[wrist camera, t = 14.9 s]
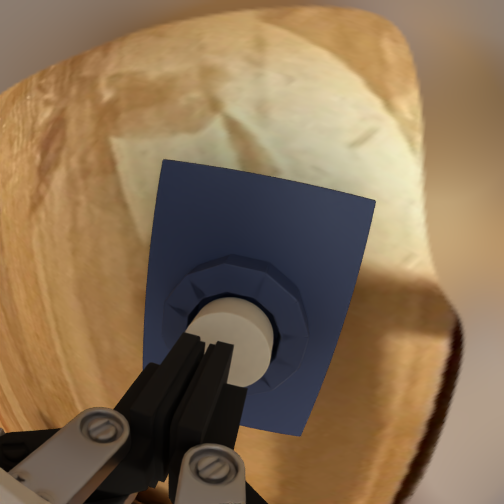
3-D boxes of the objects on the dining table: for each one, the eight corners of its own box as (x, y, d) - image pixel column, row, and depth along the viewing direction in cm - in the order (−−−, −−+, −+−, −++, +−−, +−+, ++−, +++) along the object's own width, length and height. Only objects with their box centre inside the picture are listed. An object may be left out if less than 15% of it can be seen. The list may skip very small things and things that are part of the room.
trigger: (199, 288, 13) (186, 302, 12) (281, 307, 13) (279, 324, 11) (190, 356, 14) (178, 376, 12) (264, 374, 14) (260, 397, 12)
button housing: (178, 161, 16) (145, 155, 12) (365, 198, 15) (388, 202, 11) (155, 378, 19) (130, 413, 15) (300, 414, 18) (300, 457, 14)
